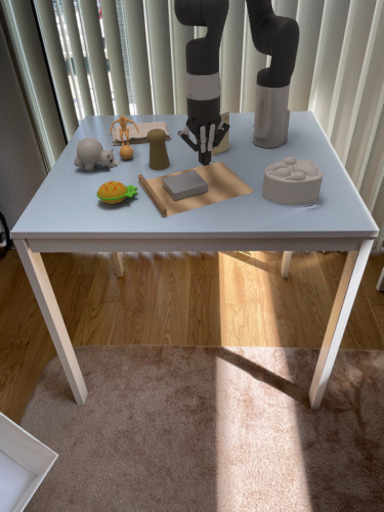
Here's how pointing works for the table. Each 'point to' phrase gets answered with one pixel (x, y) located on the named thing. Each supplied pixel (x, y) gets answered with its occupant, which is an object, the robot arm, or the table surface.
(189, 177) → the slate tile
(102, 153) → the chubby cartoon animal
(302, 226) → the table surface
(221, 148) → the skincare box
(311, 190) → the lumpy-topped squat cylinder
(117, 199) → the toy pineapple
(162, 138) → the olive pepper mill
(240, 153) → the table surface
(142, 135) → the washcloth
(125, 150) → the figurine
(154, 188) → the oak board
